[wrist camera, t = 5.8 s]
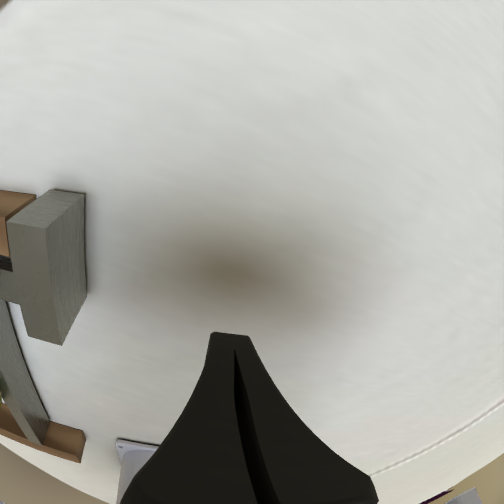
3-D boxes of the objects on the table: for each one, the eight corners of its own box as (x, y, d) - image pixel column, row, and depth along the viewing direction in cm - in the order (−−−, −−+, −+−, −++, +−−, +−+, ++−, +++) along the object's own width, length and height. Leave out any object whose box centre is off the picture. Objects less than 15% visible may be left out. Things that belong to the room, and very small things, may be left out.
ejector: (111, 438, 23) (104, 473, 20) (37, 417, 22) (26, 449, 18) (84, 194, 13) (45, 228, 10) (-29, 180, 12) (-74, 206, 8)
